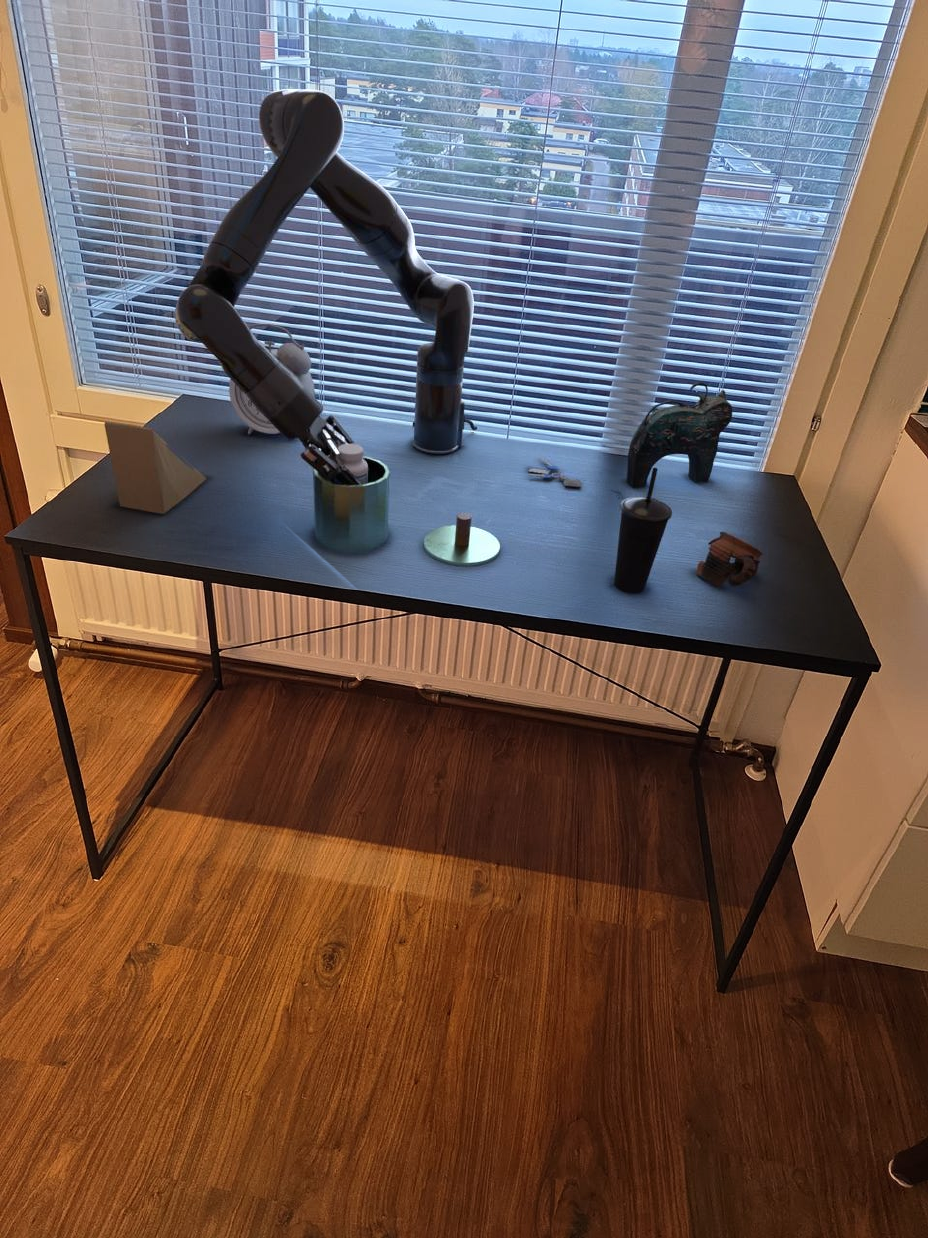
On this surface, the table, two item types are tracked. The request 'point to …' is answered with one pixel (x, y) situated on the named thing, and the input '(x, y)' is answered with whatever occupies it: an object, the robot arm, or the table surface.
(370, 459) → the tin
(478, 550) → the lid
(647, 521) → the drinking cup
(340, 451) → the pill bottle
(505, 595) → the table surface
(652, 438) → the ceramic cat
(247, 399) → the alarm clock
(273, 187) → the robot arm
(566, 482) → the key chain
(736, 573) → the brown wooden hut
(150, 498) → the sandwich container
